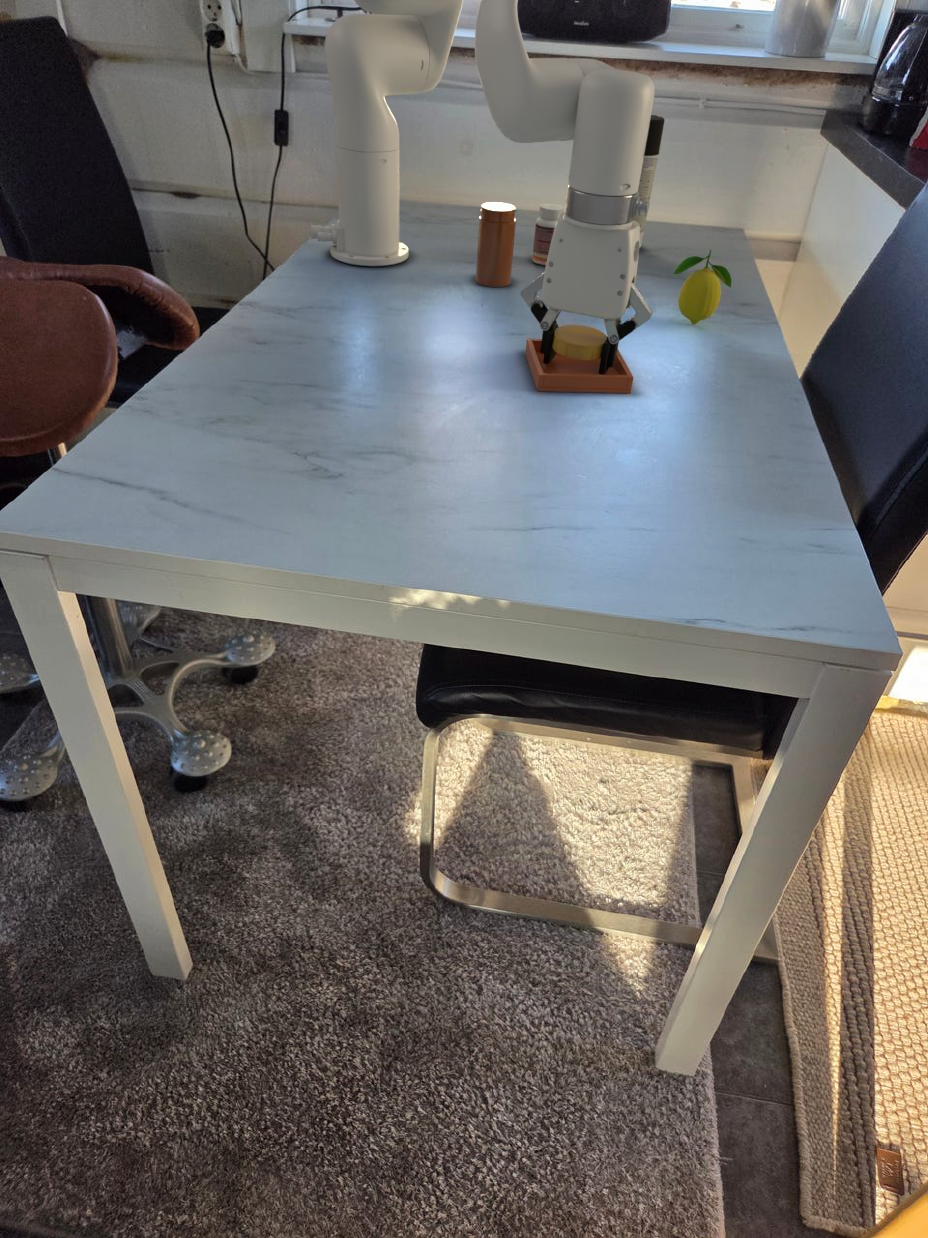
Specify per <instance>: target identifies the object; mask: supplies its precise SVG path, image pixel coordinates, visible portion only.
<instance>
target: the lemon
mask: <svg viewBox="0 0 928 1238" xmlns="http://www.w3.org/2000/svg"><path fill="white" fill-rule="evenodd" d="M711 254H712V249H709V252H708V254H707V256H706V257H700V256H698V255H694V256H690V257H687V258H685V259H684V260H683V261H682V262H680V264H679V265H678V266H677V267H676V268H675V270H674V272H673V273H672V274H673V275H679V274H681V273H683V272H685V271H688V270H689V269H690V268H693V267H695V266H696V265H698V264H700V263H701V262H703V261H704V260H706V262H705V266H704V267H703V268H701V269H697V270H695V271H693V272H692V273H691V274H690V275H689V276H688V277H687V278H686V279H685V281H684V283H683V284H682V287H681V289H680V292H679V296H678V309H679V312H680V314H681V315H682V316H683V317H684V318H686V319H687V320H689V322H690V323H691V324H692V325H697V324H698V323H699V322H701V321H705V320H707V319H709V318H710V317H711V316H713V314H714V313H715V312H716V311H717V308H718V306H719V304H720V301H721V296H722V284H721V282H722V283H723V284H724V285H726V286H727V287H729V288H732V277H731V273H730V272H729V270H728V269H727V268H726V267H724V266H723V265H718V264H712V263H711V262H710V259H711ZM709 265H710V266H711V268H710V267H709ZM711 269H712V270H711Z"/></svg>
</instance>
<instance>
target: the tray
mask: <svg viewBox="0 0 928 1238" xmlns="http://www.w3.org/2000/svg"><path fill="white" fill-rule="evenodd" d="M541 342H542V338H526V341H525V343H526V344H525V351H524V352H525V353H524V355H525V358H526V360H527V363H528V365H529V366H528V367H529V370H530V372H531V373H530V374H531V376H532V379H533V382H534V385H535V388H536V390H537V392H556V393H557V392H559V393H562V392H563V393H601V394H602V393H604V394H631V393H632V388H633V384H634V383H633V382H634V376H633V373H632V372H631V370H630V368H629V367H628V365H627V362H626V361H625V359H624V356H622V353H621V352H620V349H619V348H618V349H617V355H616V360H615V364H614V366H613V368H611V367H609V369H608V371H607V372H606V374H605V375H600V374H599V367H600V361H601V358H599V359H596V360H577V359H571V358H568V357H565V356H562V355H560V354H558V353H557V352H556V354H555V357H554V358H553V359H552V361H551V362H550V363H548V364H543V359H544V354H542V353H541V352H540V351H541Z"/></svg>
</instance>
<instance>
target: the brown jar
mask: <svg viewBox="0 0 928 1238" xmlns="http://www.w3.org/2000/svg"><path fill="white" fill-rule="evenodd" d="M516 211H517V207H516V206H515V205H513V204H511V203H506V202H497V201H494V202H493V201H491V202H484V203H482V204H481V207H480V211H479V212H480V216H479V218H478V232H477V234H478V235H477V248H476V249H477V250H476V266H475V282H476V283H477V284H478V285H481V286H484V287H489V288H503V287H507V286H509V285H511V280H512V269H513V257H514V247H515V237H516V236H515V235H516V225H517V219H516Z"/></svg>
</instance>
